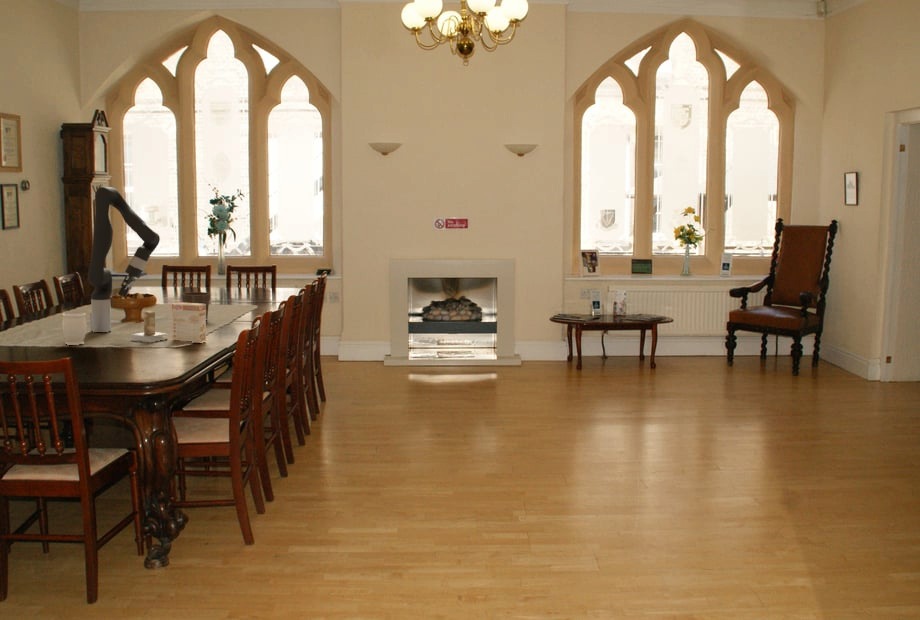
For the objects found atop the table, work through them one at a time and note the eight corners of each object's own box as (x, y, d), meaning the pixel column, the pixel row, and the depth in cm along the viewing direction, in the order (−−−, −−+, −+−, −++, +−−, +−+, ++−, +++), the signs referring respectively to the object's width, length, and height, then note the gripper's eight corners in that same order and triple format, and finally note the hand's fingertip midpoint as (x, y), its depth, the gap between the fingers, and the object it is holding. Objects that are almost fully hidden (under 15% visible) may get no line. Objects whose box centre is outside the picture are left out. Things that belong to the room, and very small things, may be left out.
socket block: (131, 342, 436) (131, 334, 435) (149, 339, 446) (149, 331, 446) (150, 344, 431) (150, 336, 430) (167, 341, 442) (167, 333, 441)
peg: (144, 340, 438) (144, 311, 436) (149, 339, 441) (149, 311, 439) (149, 340, 436) (149, 312, 434) (155, 339, 439) (154, 311, 438)
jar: (78, 341, 432) (78, 311, 430) (91, 344, 427) (90, 313, 425) (58, 344, 424) (57, 313, 422) (70, 347, 418) (70, 315, 416)
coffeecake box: (206, 342, 443) (206, 303, 440) (198, 344, 436) (198, 305, 433) (180, 340, 447) (179, 301, 444) (171, 342, 440) (171, 303, 437)
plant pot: (181, 319, 516) (181, 291, 514) (210, 319, 521) (210, 291, 519) (181, 323, 500) (181, 295, 498) (211, 323, 505) (211, 295, 503)
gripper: (131, 265, 455) (117, 293, 453) (126, 262, 441) (111, 291, 439) (145, 271, 456) (131, 299, 454) (140, 268, 442) (126, 298, 440)
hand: (121, 295), depth 447 cm, fingers open, 8 cm apart
